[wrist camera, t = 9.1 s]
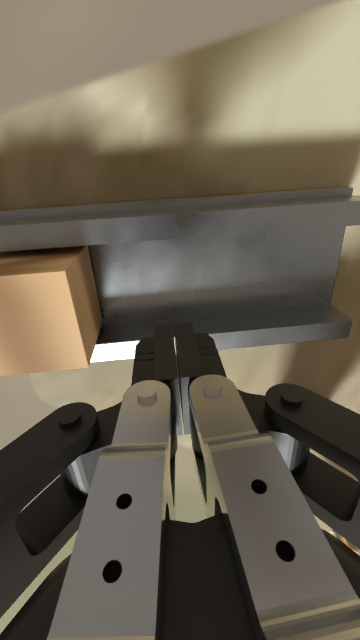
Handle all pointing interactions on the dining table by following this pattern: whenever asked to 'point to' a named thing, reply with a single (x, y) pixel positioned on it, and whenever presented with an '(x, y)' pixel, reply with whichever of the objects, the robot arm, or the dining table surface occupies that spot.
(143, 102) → the dining table surface
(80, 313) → the oak block
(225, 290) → the chute
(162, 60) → the dining table surface
